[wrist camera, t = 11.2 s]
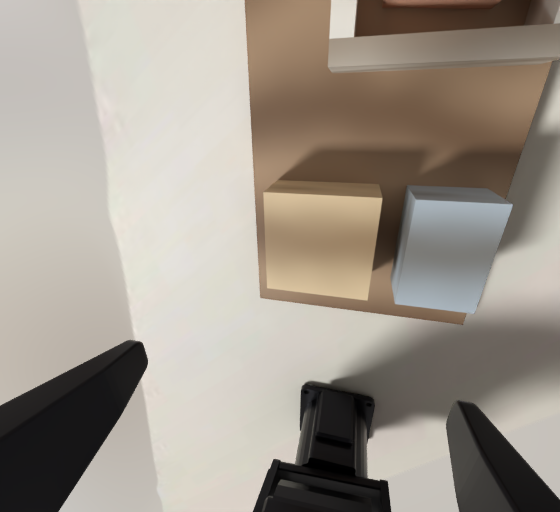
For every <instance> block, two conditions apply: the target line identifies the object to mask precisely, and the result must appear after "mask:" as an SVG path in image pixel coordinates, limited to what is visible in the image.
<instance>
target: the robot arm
mask: <svg viewBox="0 0 560 512" xmlns="http://www.w3.org/2000/svg"><path fill="white" fill-rule="evenodd" d="M147 365H148V358H147V355H146V352H145V348H144V345H143V343H142V342H140V341H135V340H128V341H126V342H124V343H122V344H120V345H118V346H116V347H114V348H112V349H110V350H108V351H106V352H104V353H102V354H100V355H98V356H97V357H94V358H92V359H90V360H89V361H87V362H84V363H83V364H81V365H79V366H77V367H75V368H73V369H71V370H69V371H67V372H65V373H63V374H61V375H59V376H57V377H55V378H53V379H51V380H49V381H48V382H45V383H44V384H42V385H40V386H38V387H36V388H34V389H32V390H30V391H28V392H26V393H24V394H22V395H20V396H18V397H16V398H14V399H12V400H10V401H8V402H6V403H4V404H2V405H1V406H0V512H58V511H59V510H60V508H61V507H62V505H63V504H64V502H65V501H66V499H67V498H68V496H69V495H70V493H71V491H72V490H73V489H74V487H75V485H76V484H77V482H78V481H79V479H80V478H81V476H82V475H83V473H84V472H85V470H86V469H87V467H88V465H89V464H90V462H91V461H92V459H93V458H94V456H95V455H96V453H97V452H98V450H99V449H100V447H101V446H102V444H103V442H104V441H105V439H106V438H107V436H108V435H109V433H110V432H111V430H112V429H113V427H114V426H115V424H116V423H117V421H118V419H119V418H120V416H121V414H122V413H123V411H124V409H125V407H126V406H127V404H128V402H129V400H130V398H131V396H132V394H133V393H134V391H135V388H136V387H137V385H138V383H139V381H140V379H141V378H142V376H143V374H144V372H145V370H146V368H147ZM374 407H375V402H374V399H373V398H371V397H367V396H362V395H357V394H351V393H346V392H341V391H336V390H331V389H326V388H320V387H315V386H310V385H303V386H302V389H301V408H300V430H301V434H300V439H299V445H298V450H297V456H296V461H295V464H291V463H286V462H281V460H278V459H274V460H273V462H272V465H271V468H270V469H269V470H268V472H267V475H266V478H265V480H264V483H263V486H262V488H261V491H260V494H259V497H258V499H257V502H256V505H255V507H254V510H253V512H391V506H390V497H389V488H388V481H386V480H381V479H380V481H378V480H373V479H368V476H367V442H368V437H369V432H370V427H371V422H372V417H373V412H374ZM446 429H447V437H448V444H449V451H450V458H451V465H452V471H453V478H454V486H455V492H456V498H457V503H458V507H459V512H560V499H559V498H558V497H557V496H556V495H555V494H554V493H553V492H552V490H551V489H550V488H549V487H548V486H547V485H546V484H545V482H544V481H543V480H542V479H541V478H540V477H539V476H538V475H537V473H536V472H535V471H534V470H533V469H532V468H531V467H530V465H529V464H528V463H527V462H526V461H525V460H524V459H523V458H522V456H521V455H520V454H519V453H518V452H517V451H516V450H515V449H514V447H513V446H512V445H511V444H510V443H509V442H508V441H507V439H506V438H505V437H504V436H503V435H502V434H501V433H500V431H499V430H498V429H497V428H496V427H495V426H494V425H493V424H492V422H491V421H490V420H489V419H488V418H487V417H486V416H485V414H484V413H483V412H482V411H481V410H480V409H479V408H478V407H477V406H476V405H475V404H473V403H471V402H465V401H460V400H456V401H455V402H454V403H453V406H452V408H451V411H450V414H449V416H448V419H447V423H446Z"/></svg>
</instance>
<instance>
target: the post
mask: <svg viewBox="0 0 560 512" xmlns="http://www.w3.org/2000/svg"><path fill="white" fill-rule="evenodd" d="M500 1H502V0H383V4H382V7H383V8H452V9H491V8H492V7H494V6H495V5H496V4H498V3H499V2H500Z"/></svg>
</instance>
